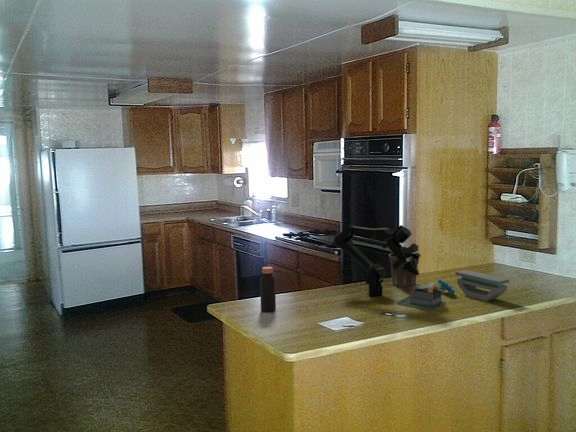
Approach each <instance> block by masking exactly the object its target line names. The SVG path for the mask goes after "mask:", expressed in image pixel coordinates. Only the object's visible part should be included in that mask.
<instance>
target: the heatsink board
mask: <svg viewBox="0 0 576 432" xmlns="http://www.w3.org/2000/svg"><path fill="white" fill-rule="evenodd" d="M420 285H422V284H421V283H420V284H419V283H418V284H417V285H414V286H412V290H410V295H409V296H407V297H405V298H402V299H400V300H398V301H396V304H397V305H401V306H405V307H412V308H416V309H417V308H418V309H422V310H427V311H434V310H437V309H439V308H440V307H442V306H444V305H445V304H446V301H442V300H443V299H442V298H443V296H442V294H441V291H442V290H441V289H440V290H438V289H439V286H434V287H430V288H423V289H416V286H420Z"/></svg>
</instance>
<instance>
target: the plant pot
mask: <svg viewBox="0 0 576 432" xmlns="http://www.w3.org/2000/svg"><path fill="white" fill-rule="evenodd" d="M413 253H414V252H413ZM413 253H412V254H413ZM392 255H393V253H392V252H391V253H389V254H388V256H389V262H390V268H391V283H392V285H393V286H394V287H395V286H396V287H401V288H404V287H406V288H409V287H411V288H413V287H414V286H416V282H417V280H416V279H417V275H415V274H413V273H411V272H409V271H407V270H404V269H402V267H403V266H402V264H401V265H400V266H399V267H398V269H396V270H395V269H394V268H393V267H392V264H393V263H394V262H395V261H396V260H397V258H396V257H393V256H392ZM419 260H420V257H419V258H418V259H417V260H416V261H415V264H416V267H417V268H418V264H419Z"/></svg>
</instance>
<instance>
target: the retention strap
mask: <svg viewBox="0 0 576 432" xmlns="http://www.w3.org/2000/svg"><path fill="white" fill-rule="evenodd" d="M436 285H437V284H436V283H427V284H421V285H420V286H418V285H415V286H416V289H423V288H433V287H434V286H436Z"/></svg>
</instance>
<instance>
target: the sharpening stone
mask: <svg viewBox="0 0 576 432" xmlns="http://www.w3.org/2000/svg"><path fill="white" fill-rule="evenodd" d="M454 274H455V276H459V278H456V279H457V280H456V284H457V285H458V287H459V288H460V289H461V291H462V293H464V294H463V295H465V297H469V298H472V299H475V300H479V301H483V302H488V301H492V300H496V299H498V298H499V297H500V296H502V295H503V294H505V292H507V291H508V285H505V284H508V283H510V278H505V277H500V276H496V275H492V274H487V273H482V272H477V271H473V270H468V269H464V270H459V271H455V273H454Z"/></svg>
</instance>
